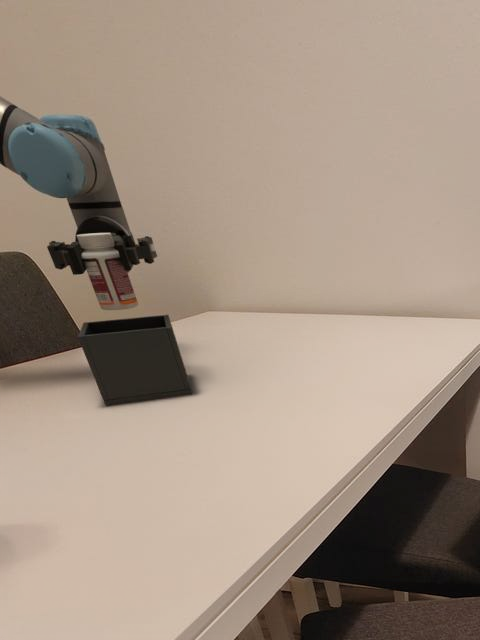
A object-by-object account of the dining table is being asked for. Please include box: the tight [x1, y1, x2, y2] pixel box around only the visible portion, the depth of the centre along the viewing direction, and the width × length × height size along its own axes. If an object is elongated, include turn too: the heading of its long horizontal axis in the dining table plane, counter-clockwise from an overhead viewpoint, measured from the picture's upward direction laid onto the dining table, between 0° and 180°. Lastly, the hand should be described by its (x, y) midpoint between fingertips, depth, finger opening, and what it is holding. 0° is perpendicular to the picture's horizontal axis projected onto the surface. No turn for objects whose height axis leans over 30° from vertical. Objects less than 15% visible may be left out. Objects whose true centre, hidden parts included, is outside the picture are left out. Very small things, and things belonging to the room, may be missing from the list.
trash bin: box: [77, 314, 193, 407], centre depth 85 cm, size 11×11×9 cm
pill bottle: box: [77, 233, 139, 311], centre depth 78 cm, size 5×5×8 cm
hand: (99, 259), depth 73 cm, fingers closed on pill bottle, 5 cm apart
